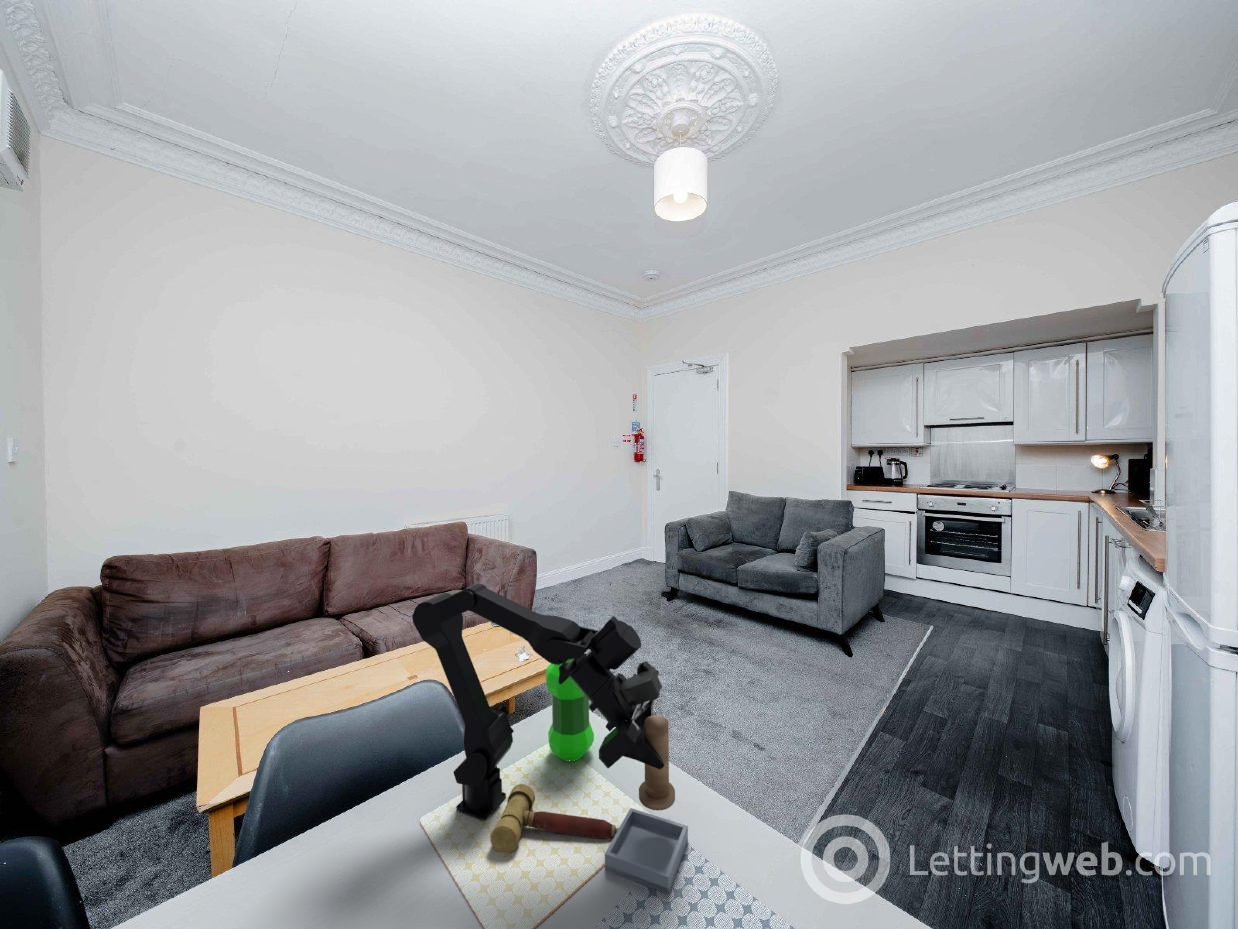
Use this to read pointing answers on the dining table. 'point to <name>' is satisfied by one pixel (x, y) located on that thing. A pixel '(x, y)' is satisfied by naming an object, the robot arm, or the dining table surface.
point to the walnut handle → (656, 785)
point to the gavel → (540, 822)
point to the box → (647, 850)
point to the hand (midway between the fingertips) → (664, 758)
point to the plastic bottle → (568, 717)
